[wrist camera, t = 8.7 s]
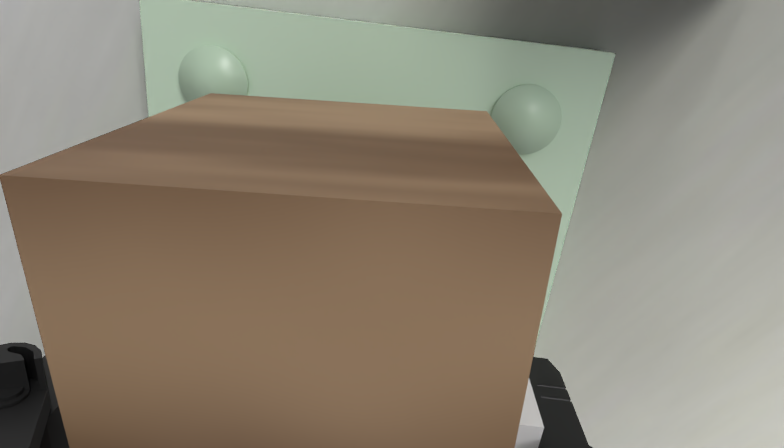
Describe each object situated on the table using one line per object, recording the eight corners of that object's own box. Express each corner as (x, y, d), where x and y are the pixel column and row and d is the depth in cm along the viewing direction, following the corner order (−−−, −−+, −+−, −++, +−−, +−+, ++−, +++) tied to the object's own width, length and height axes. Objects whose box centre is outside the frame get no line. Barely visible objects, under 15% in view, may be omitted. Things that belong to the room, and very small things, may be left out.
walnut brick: (210, 93, 15) (-2, 174, 7) (486, 111, 14) (562, 213, 7) (236, 413, 19) (124, 663, 12) (445, 429, 19) (465, 691, 12)
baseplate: (155, -4, 18) (134, -5, 16) (603, 50, 18) (618, 53, 16) (180, 359, 24) (166, 379, 23) (511, 400, 24) (516, 423, 23)
